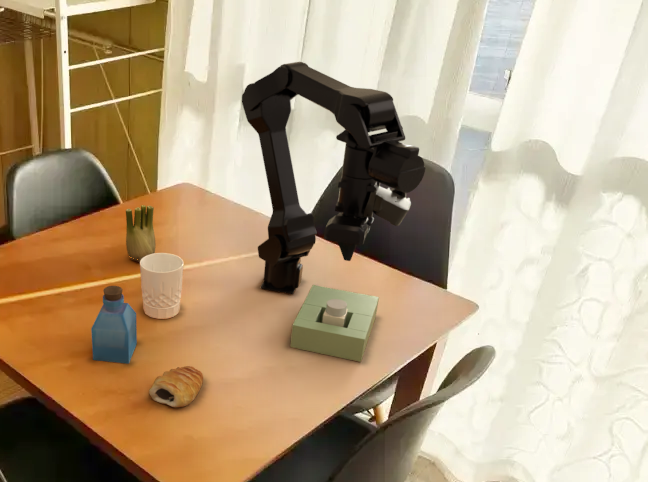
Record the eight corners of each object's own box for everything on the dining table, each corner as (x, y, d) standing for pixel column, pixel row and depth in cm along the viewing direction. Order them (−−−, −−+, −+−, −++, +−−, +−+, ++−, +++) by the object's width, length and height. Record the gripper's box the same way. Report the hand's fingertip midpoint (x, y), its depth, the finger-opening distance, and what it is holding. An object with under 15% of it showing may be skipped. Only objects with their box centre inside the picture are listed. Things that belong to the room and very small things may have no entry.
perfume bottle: (128, 363, 124) (127, 301, 118) (93, 359, 126) (89, 297, 119) (136, 343, 130) (135, 283, 123) (102, 340, 131) (99, 279, 124)
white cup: (189, 304, 141) (190, 257, 136) (172, 324, 135) (173, 275, 130) (151, 296, 144) (150, 249, 139) (133, 315, 138) (132, 267, 133)
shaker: (344, 334, 132) (340, 344, 129) (324, 330, 133) (319, 340, 130) (349, 300, 128) (345, 310, 125) (328, 297, 129) (324, 306, 127)
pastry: (178, 370, 123) (179, 351, 121) (214, 384, 119) (215, 364, 117) (145, 399, 116) (145, 379, 114) (182, 414, 113) (183, 394, 111)
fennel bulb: (125, 263, 156) (124, 210, 150) (130, 253, 160) (128, 200, 154) (153, 265, 155) (152, 211, 149) (156, 255, 159) (156, 202, 153)
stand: (290, 347, 128) (292, 324, 126) (310, 305, 140) (312, 284, 138) (360, 362, 124) (364, 339, 122) (375, 318, 136) (379, 296, 134)
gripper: (404, 200, 111) (387, 292, 119) (418, 161, 125) (402, 245, 133) (329, 190, 114) (318, 280, 123) (351, 153, 129) (340, 235, 137)
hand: (347, 259), depth 129 cm, fingers closed
